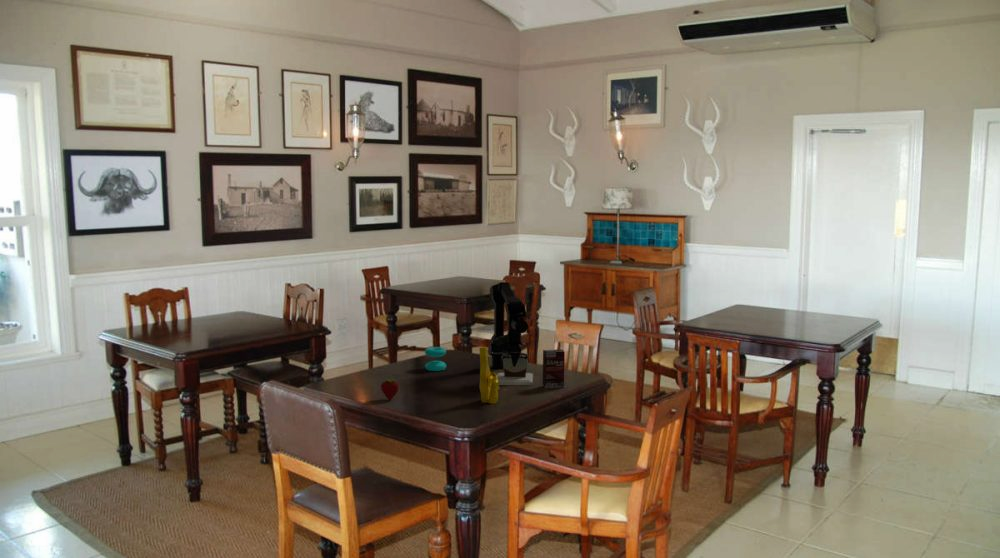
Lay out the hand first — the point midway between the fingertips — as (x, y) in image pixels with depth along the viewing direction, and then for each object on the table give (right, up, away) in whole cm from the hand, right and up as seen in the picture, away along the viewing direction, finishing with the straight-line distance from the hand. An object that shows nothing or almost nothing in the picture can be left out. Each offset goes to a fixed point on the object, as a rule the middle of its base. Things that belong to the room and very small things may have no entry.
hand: (514, 364), depth 348 cm
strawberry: (-51, -11, -30) cm, 60 cm away
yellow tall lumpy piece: (-11, -12, -33) cm, 37 cm away
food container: (0, -6, +2) cm, 6 cm away
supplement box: (+16, -9, -10) cm, 21 cm away
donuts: (-37, -5, +24) cm, 44 cm away
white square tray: (0, -7, +1) cm, 8 cm away
